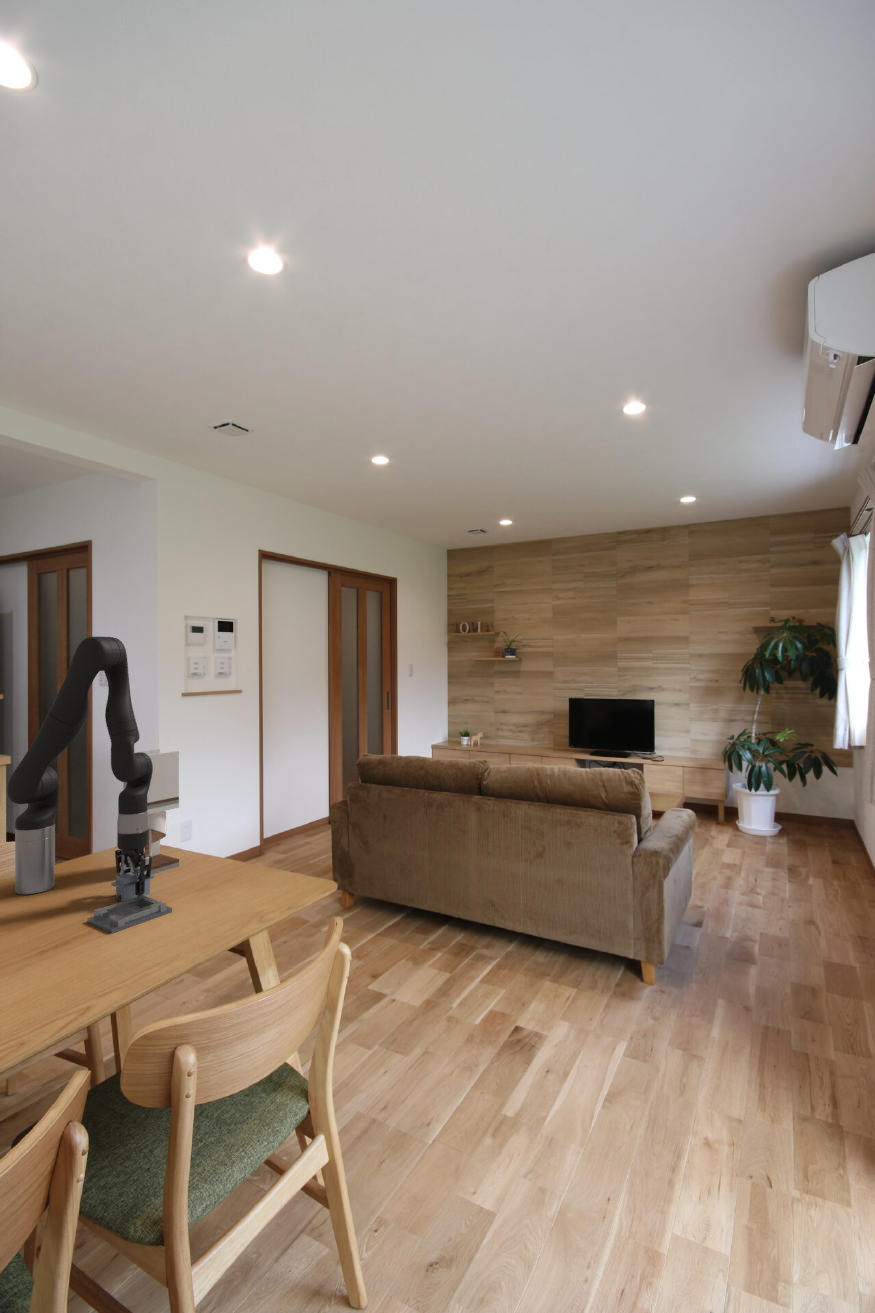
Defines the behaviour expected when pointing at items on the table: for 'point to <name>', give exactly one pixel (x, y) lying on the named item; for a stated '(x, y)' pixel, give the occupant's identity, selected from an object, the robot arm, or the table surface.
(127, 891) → the servo
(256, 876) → the table surface
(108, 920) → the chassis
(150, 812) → the white alcove tower
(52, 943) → the table surface
